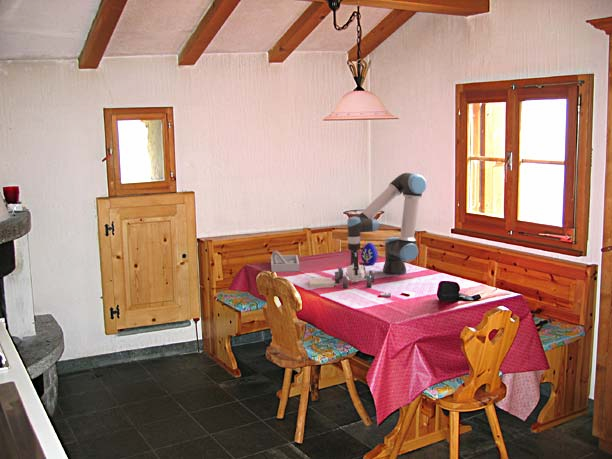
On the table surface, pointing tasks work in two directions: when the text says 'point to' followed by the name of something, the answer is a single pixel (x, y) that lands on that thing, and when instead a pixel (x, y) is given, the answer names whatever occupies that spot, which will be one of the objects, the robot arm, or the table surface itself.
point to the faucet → (280, 258)
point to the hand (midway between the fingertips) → (354, 277)
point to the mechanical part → (351, 272)
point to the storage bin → (285, 266)
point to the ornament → (369, 254)
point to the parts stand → (321, 282)
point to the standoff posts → (345, 278)
